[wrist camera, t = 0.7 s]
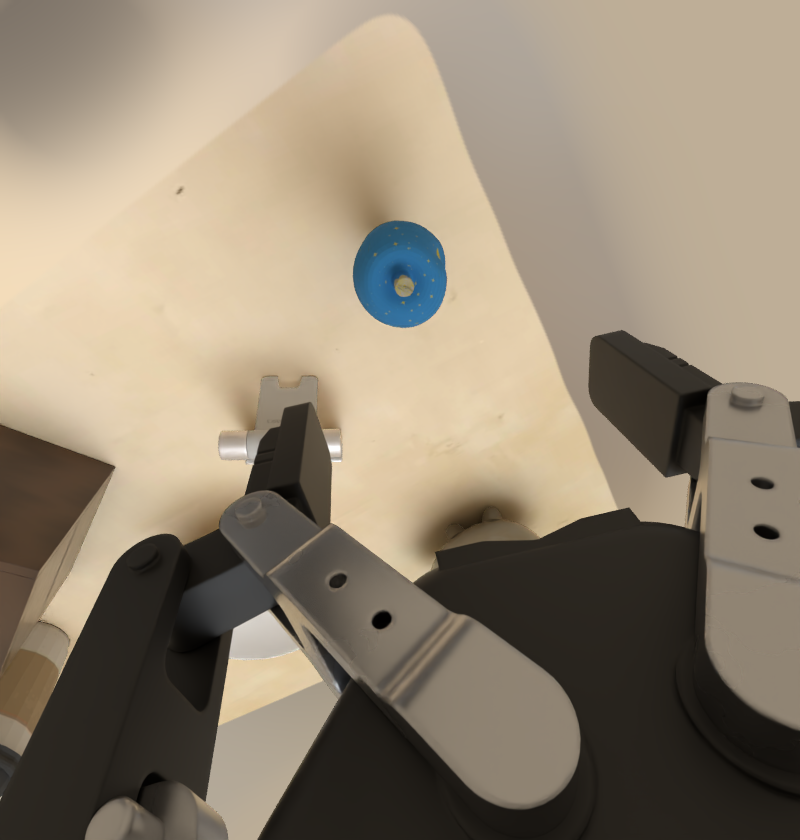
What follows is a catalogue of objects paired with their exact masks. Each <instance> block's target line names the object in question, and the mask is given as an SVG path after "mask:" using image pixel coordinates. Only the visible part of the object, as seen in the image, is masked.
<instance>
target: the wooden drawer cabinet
mask: <svg viewBox="0 0 800 840" xmlns="http://www.w3.org/2000/svg"><path fill="white" fill-rule="evenodd" d="M114 469H115V467H114V466H111V465H108V464H106V463H103V462H100V461H97V460H95V459H92V458H89V457H86V456H84V455H81V454H78V453H75V452H73V451H70V450H67V449H64V448H62V447H59V446H56V445H53V444H51V443H48V442H45V441H42V440H40V439H37V438H34V437H31V436H29V435H26V434H23V433H20V432H18V431H15V430H12V429H9V428H7V427H4V426H1V425H0V679H1V677H2V675H3V674H4V672H5V671H6V669H7V668H8V666H9V665H10V663H11V662H12V660H13V659H14V657H15V656H16V654H17V653H18V651H19V650H20V648H21V646H22V645H23V643H24V642H25V640H26V639H27V637H28V636H29V634H30V633H31V631H32V630H33V628H34V627H35V625H36V624H37V622H38V621H39V619H40V618H41V616H42V614H43V613H44V611H45V610H46V608H47V607H48V605H49V604H50V602H51V601H52V599H53V598H54V596H55V595H56V593H57V592H58V590H59V589H60V587H61V585H62V584H63V582H64V581H65V579H66V578H67V576H68V575H69V573H70V571H71V569H72V567H73V564H74V562H75V560H76V557H77V555H78V553H79V550H80V548H81V546H82V543H83V541H84V539H85V537H86V534H87V532H88V530H89V527H90V525H91V523H92V520H93V518H94V516H95V513H96V511H97V509H98V506H99V504H100V502H101V499H102V497H103V495H104V493H105V490H106V488H107V486H108V483H109V481H110V479H111V476H112V474H113V472H114Z"/></svg>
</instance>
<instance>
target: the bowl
mask: <svg viewBox="0 0 800 840" xmlns="http://www.w3.org/2000/svg"><path fill="white" fill-rule="evenodd" d="M299 649H300V648H299V647H298V646H297V645H296V644H295V642H294V641H293V640H292V639H291V638H290V636H289V635H288V634H287V633H286V632H285V630H284V629H283V628H282V627H281V626H280V624H279V623H278V622H277V621H276V620H275V618H274V617H273V616H272V615H271V614H270V612H269V611H268V610H267V611H265V612H264V613H262V614H260V615H258V616H256V617H254V618H252V619H250V620H249V621H247V622H245V623H243V624H241V625H239V626H237V627H235V628H234V629H233V634H232V641H231V647H230V653H229V659H238V660H257V659H268V658H273V657H278V656H283V655H286V654H288V653H291V652H294V651H296V650H299Z"/></svg>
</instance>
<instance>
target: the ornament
mask: <svg viewBox="0 0 800 840" xmlns="http://www.w3.org/2000/svg"><path fill="white" fill-rule="evenodd" d="M353 282H354V287H355V291H356V294H357V296H358V298H359V300H360V302H361V304H362V305H363V307H364V308H365V309H366V310H367V312H368V313H369V314H370V315H372V316H373V317H374V318H375V319H377V320H378V321H380V322H382V323H384V324H387V325H390V326H393V327H400V328H407V327H414V326H417V325H419V324H422V323H423V322H425V321H427V320H428V319H429V318H431V317H432V316H433V315H434V314H435V313H436V311H437V310H438V309H439V307H440V305H441V303H442V301H443V298H444V295H445V291H446V283H447V276H446V270H445V255H444V251H443V248H442V245H441V243H440V242H439V240H438V239H437V238H436V237H435V236H434V235H433V234H432V233H431V232H429V231H428V230H427V229H425V228H424V227H422V226H420V225H418V224H415V223H412V222H407V221H391V222H386V223H384V224H381V225H379V226H378V227H376V228H375V229H373V230H372V231H371V232H370V233H369V234H368V235H367V237H366V238H365V240H364V241H363V243H362V245H361V246H360V248H359V250H358V253H357V255H356V258H355V262H354V267H353Z"/></svg>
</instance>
